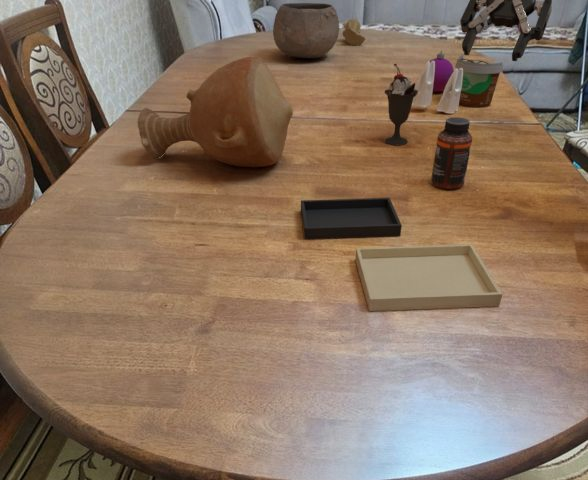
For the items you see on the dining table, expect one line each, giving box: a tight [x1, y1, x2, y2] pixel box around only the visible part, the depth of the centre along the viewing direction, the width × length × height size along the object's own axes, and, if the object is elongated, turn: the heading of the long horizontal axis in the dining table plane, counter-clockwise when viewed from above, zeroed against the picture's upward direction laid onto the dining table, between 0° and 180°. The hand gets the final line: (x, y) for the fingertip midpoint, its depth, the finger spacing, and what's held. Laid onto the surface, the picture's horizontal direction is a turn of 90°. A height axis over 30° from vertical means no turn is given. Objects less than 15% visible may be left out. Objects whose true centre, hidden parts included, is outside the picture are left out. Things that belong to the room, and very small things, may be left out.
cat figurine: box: [342, 18, 366, 46], centre depth 193 cm, size 8×7×12 cm
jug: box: [137, 56, 294, 168], centre depth 104 cm, size 20×19×30 cm
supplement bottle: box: [430, 116, 473, 190], centre depth 97 cm, size 6×6×11 cm
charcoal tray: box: [300, 197, 403, 240], centre depth 88 cm, size 15×10×2 cm, turn 93°
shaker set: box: [411, 60, 463, 114], centre depth 130 cm, size 12×4×11 cm, turn 77°
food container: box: [454, 54, 504, 109], centre depth 135 cm, size 12×6×10 cm, turn 40°
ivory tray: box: [354, 243, 503, 312], centre depth 75 cm, size 17×13×2 cm
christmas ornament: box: [429, 49, 455, 93], centre depth 144 cm, size 8×8×10 cm
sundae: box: [384, 63, 418, 146], centre depth 113 cm, size 7×7×15 cm
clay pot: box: [272, 2, 340, 59], centre depth 173 cm, size 21×21×15 cm
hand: (489, 55), depth 95 cm, fingers open, 8 cm apart
